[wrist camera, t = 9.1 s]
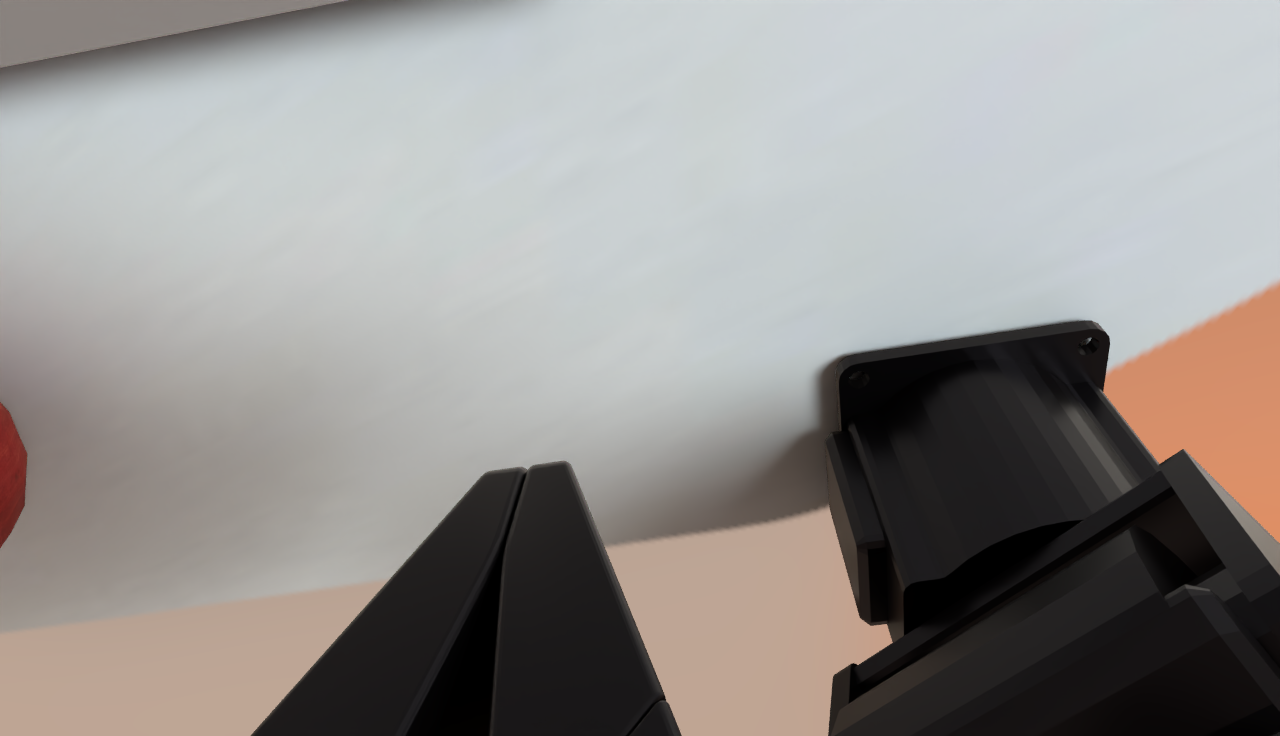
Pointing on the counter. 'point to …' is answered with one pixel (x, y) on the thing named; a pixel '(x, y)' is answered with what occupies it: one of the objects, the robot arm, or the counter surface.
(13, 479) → the onion
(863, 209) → the counter surface
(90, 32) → the fader console
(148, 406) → the counter surface
